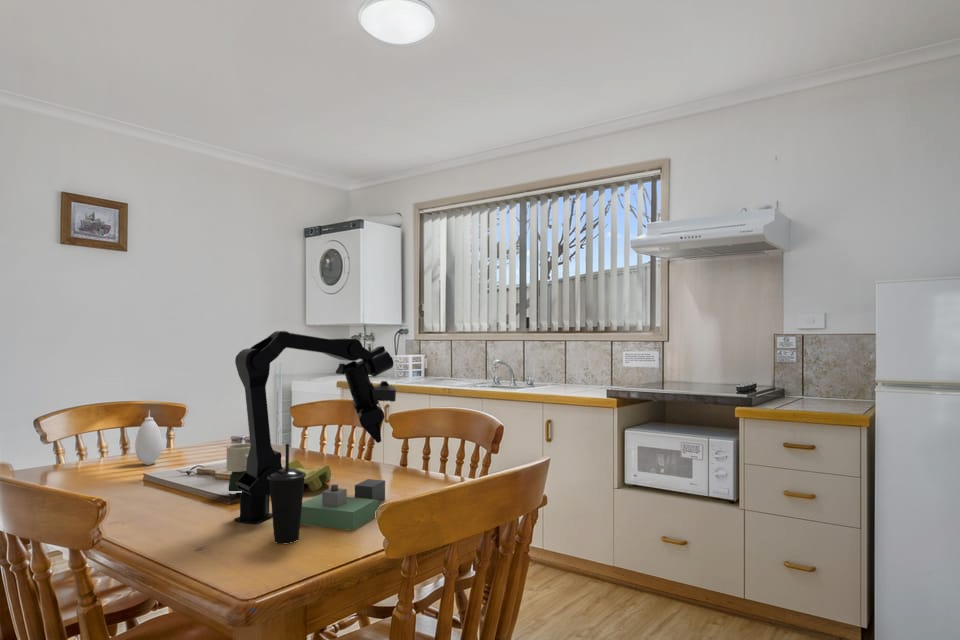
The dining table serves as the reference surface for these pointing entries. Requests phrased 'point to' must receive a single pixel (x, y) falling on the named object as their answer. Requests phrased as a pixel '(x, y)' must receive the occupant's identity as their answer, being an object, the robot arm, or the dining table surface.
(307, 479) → the plastic component
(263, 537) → the dining table surface
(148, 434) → the white bulb air blower
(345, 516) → the green base with blocks
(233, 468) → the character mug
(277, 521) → the drinking cup
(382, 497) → the charcoal rectangular prism
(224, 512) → the dining table surface
